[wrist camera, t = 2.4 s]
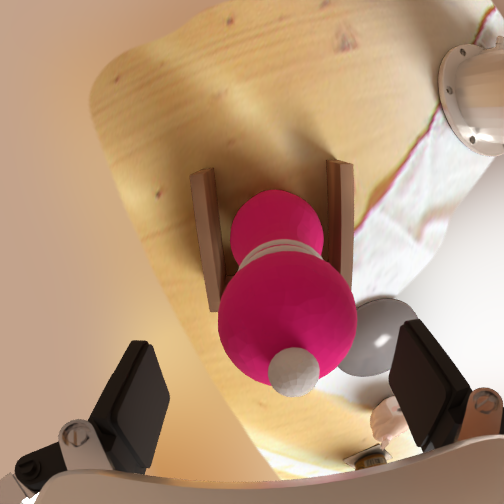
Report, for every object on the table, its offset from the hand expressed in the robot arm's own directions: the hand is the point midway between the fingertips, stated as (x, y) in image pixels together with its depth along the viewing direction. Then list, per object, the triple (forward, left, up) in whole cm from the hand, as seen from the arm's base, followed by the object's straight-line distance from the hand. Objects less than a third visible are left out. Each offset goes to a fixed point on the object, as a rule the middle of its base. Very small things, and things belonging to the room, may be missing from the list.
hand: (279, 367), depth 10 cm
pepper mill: (0, 0, -19) cm, 19 cm away
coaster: (+7, +17, -19) cm, 26 cm away
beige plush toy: (+16, +27, -19) cm, 37 cm away
